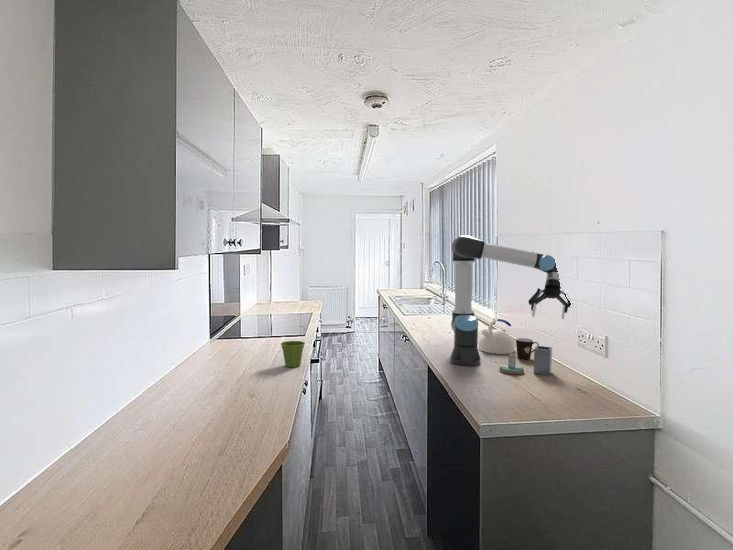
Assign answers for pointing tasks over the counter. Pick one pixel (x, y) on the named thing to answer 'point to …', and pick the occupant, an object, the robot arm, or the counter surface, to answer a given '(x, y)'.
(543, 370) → the grey square holder
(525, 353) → the coffee mug
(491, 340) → the kettle
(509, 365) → the post stand
